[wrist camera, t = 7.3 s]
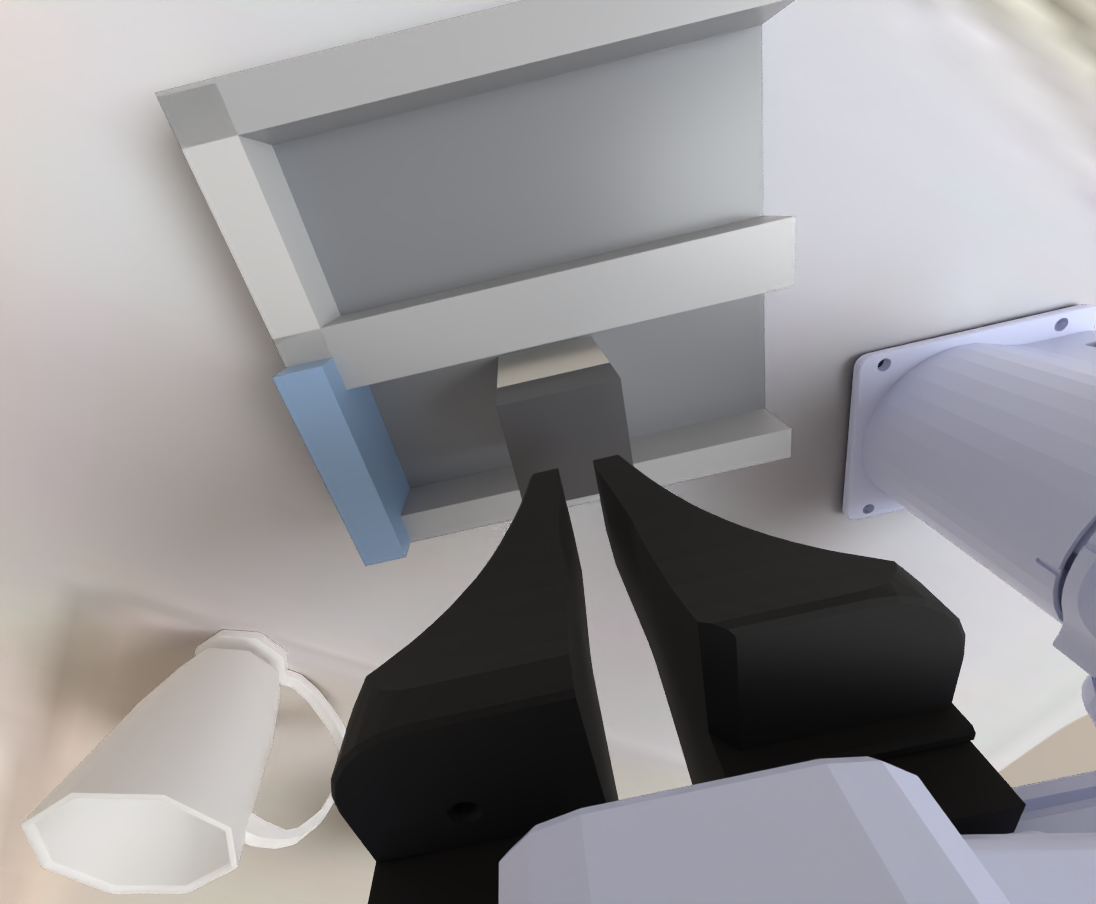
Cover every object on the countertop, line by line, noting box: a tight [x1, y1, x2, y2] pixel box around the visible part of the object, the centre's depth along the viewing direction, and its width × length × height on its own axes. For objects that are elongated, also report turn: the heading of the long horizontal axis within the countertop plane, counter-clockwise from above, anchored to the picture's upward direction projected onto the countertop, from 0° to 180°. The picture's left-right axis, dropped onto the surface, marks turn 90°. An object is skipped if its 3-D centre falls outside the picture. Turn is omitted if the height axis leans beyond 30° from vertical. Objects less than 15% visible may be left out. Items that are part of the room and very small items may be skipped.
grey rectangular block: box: [496, 335, 633, 501], centre depth 16 cm, size 3×3×5 cm
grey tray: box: [155, 0, 796, 566], centre depth 16 cm, size 16×15×4 cm
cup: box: [20, 630, 346, 894], centre depth 21 cm, size 7×10×8 cm
